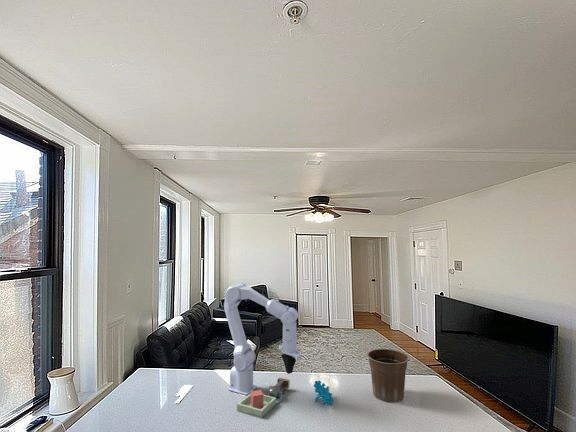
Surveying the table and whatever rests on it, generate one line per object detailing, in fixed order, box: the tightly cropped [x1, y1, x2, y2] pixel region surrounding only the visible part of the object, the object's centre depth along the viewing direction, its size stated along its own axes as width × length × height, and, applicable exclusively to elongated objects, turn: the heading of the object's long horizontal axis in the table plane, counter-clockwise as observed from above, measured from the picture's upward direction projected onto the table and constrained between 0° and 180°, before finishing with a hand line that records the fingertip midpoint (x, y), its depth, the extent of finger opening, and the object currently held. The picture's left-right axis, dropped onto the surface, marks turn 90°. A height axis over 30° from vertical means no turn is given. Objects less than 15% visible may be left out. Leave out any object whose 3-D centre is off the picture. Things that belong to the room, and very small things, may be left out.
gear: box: [313, 380, 334, 406], centre depth 134 cm, size 11×6×10 cm
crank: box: [268, 377, 291, 399], centre depth 139 cm, size 12×5×3 cm, turn 156°
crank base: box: [267, 390, 286, 405], centre depth 137 cm, size 6×10×1 cm, turn 153°
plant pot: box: [366, 348, 410, 403], centre depth 139 cm, size 16×16×16 cm
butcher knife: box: [174, 384, 194, 405], centre depth 138 cm, size 5×15×1 cm, turn 174°
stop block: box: [250, 389, 264, 409], centre depth 128 cm, size 4×4×5 cm
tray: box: [236, 392, 277, 419], centre depth 128 cm, size 11×11×2 cm
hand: (289, 372), depth 138 cm, fingers closed
